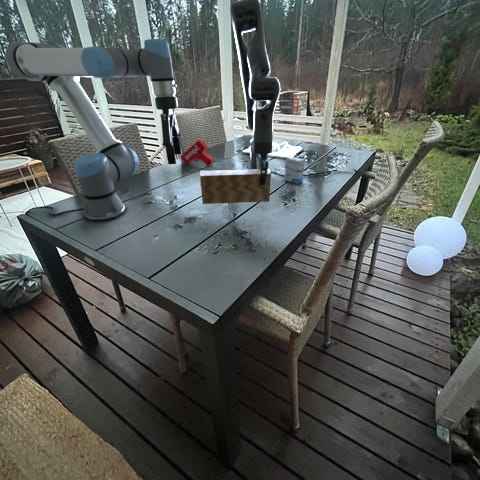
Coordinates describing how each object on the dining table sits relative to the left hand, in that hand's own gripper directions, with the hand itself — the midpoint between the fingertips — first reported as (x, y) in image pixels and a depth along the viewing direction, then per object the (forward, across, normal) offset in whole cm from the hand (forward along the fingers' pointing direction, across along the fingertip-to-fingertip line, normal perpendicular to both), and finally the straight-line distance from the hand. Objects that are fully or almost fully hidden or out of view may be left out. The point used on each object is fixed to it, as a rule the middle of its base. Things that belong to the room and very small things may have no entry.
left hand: (175, 158), depth 103 cm
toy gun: (+21, +65, 0) cm, 68 cm away
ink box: (+23, +32, -54) cm, 67 cm away
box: (+19, +1, -22) cm, 29 cm away
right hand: (+11, +1, -33) cm, 35 cm away
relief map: (+22, +92, -52) cm, 108 cm away
